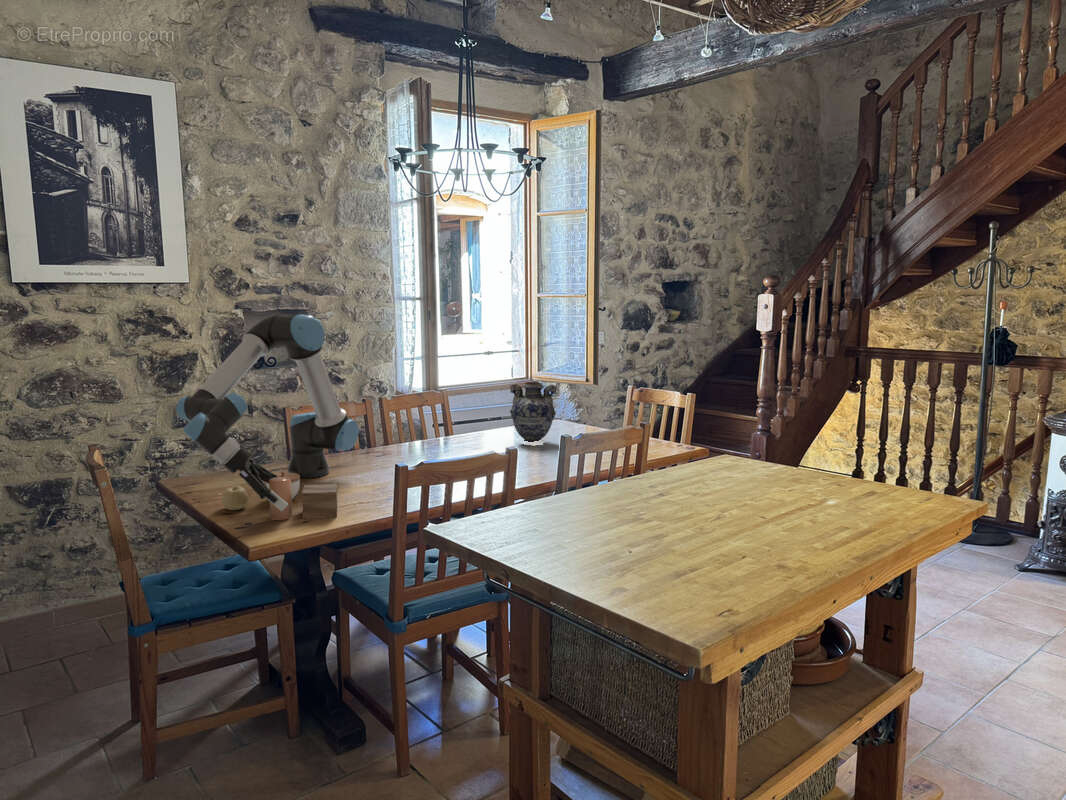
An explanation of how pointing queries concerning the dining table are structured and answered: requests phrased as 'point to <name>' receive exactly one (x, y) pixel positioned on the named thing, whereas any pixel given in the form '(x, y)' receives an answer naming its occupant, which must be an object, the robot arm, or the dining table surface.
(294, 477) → the lidded jar
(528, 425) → the decorative vase
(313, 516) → the walnut crate
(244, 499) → the apple
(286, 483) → the dome-topped peach cylinder
